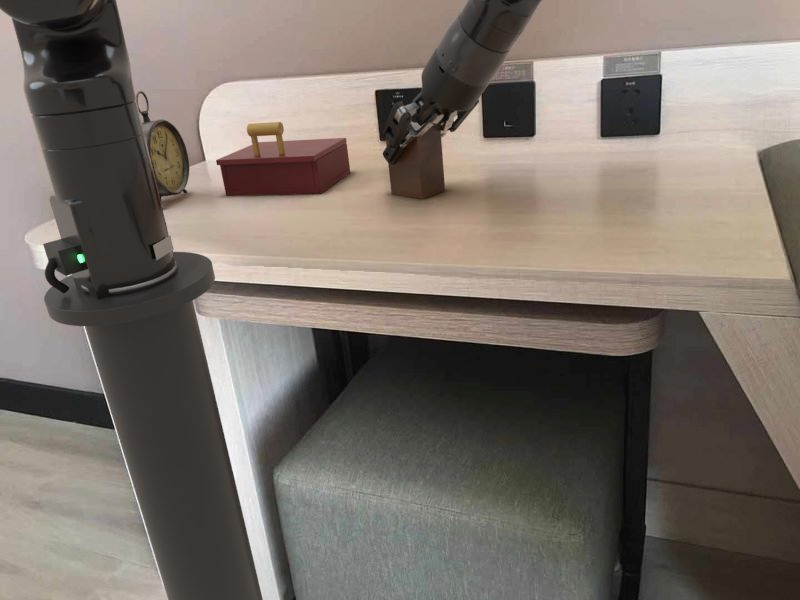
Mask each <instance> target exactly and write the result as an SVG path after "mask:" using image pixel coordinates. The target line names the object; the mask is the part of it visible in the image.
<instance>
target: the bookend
mask: <svg viewBox="0 0 800 600" xmlns="http://www.w3.org/2000/svg"><path fill="white" fill-rule="evenodd" d="M413 123H414V124H415V125H416V127H417V128H418V129H419V128H420V127H421V126H420V125H419V124H418V123H417V122H414V121H413ZM408 134H409V130H408V129H407V131H406V133H405V135H404V137H406V136H407V135H408ZM442 142H443V141H442V138H441V128H440V124H439V125H432V126H431V127H430V128H429V129H428V130H427V131H426V132H425V133H424V134H423V135H422V136H421V137H420V138H417V137H415V138H414V139H413V140H412V141H411V142H410V143H409V144H408V145H407V146H406V147H407V148H406V149H405V151H404V152H403V154H402V155H401V157H400V158H399V160H398V162H397V163H396V164H394V165H389V163H388V162H387V164H388V175H389V183H390V184H389V185H390V191H391V192H390V193H391V195H396V196H402V197H408V198H412V199H413V198H414V199H421V200H423V199H427V198H429V197H432V196H435V195H437V194H440V193H443V192H446V184H445V169H444V160H443V159H444V157H443V143H442ZM388 143H389V141H388V140H387V138H386V137H385V147H387V145H388Z"/></svg>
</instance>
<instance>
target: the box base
mask: <svg viewBox="0 0 800 600" xmlns="http://www.w3.org/2000/svg"><path fill="white" fill-rule="evenodd" d="M349 157H350V156H349V149H348V144H347V143H345V144H344V145H342V146H340V147H338V148H336V149H335V150H333V151H331V152H329V153H328V154H326V155H324V156H322V157H321V158H319V159H317V160H315V161H309V162H285V163H261V164H237V165H219V167H220V173H221V178H222V182H223V187H224V192H225V196H226V197H239V196H240V197H241V196H242V197H243V196H275V195H278V196H279V195H316V194H318V195H319V194H323V193H324V192H326V191H327V190H328V189H330V188H331V187H333V186H335V185H336V184H338V183H339V182H340V181H341V180H343V179H344V178H346V177H347V176H349V175H350V174H351V165H350V158H349Z"/></svg>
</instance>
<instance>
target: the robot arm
mask: <svg viewBox="0 0 800 600" xmlns="http://www.w3.org/2000/svg"><path fill="white" fill-rule="evenodd" d="M542 2H543V0H466V1H465V3H464V5H463V7H462V8H461V11H459V13H458V15H457V16H456V17H455V18H454V20H453V21H452V22H451V23H450V25H449V26H448V28H447V29H446V31H445V33H444V34H443V36H442V37H441V39H440V40H439V42H438V44H437V46H436V48H435V49H434V51H433V53H432V54H431V56H430V58H429V60H427V63H426V65H425V66H424V68H423V69H422V71H421V72H422V73H421V90H420V91H419V92H418V94H417V95H416V96H415V97H414V98H413V99H412V101H411V103H408V104H403V101H397V102H396V103H394V104H393V106H392V109H391V111H390V112H389V115H388V118H387V120H386V123H385V125H384V127H383V129H382V132H381V133H382V135H383V136H384V138H385V139H386V138H387V140H388V141H389V143H388V145H387V146H385V148H384V150H383V151H382V156H383V158H384V160H385V161H386V162H387V164H388V163H389V165H394V164H396V163H397V162H398V160H399V158H400V157H401V155H402V154H403V152H404V151H405V149H406V148H407V147H406V146H407V145H408V144H409V143H410V142H411V141H412V140H413V139H414V138H415V137H417V138H420V137H421V136H422V135H423V134H424V133H425V132H426V131H427V130H428V129H429V128H430V127H431V126H432V125H439V124H440V128H441V139H443V138H444V137H445V136H446V135H447V133H448V132H450V133H454V132H456V130H458V129H459V128H460V126H461V125H462V124H463V122H465V120H466V119H467V117H468V116H469V115H470V114H471V113H472V111H473V110H474V109H475V108H476V107H477V106H478V104H480V98H481V96H482V95H483V93H484V92H485V91H486V89H487V88H488V86H489V85H490V84H491V82H492V81H493V79H494V78H495V76H496V75H497V73H498V72H499V70H501V68H502V66H503V65H504V63H505V61H506V59H507V56H508V55H509V53H510V51H511V50H512V48H513V47H514V46H515V44H516V43H517V41H518V40H519V38H520V37H521V35H522V34H523V32H525V30H526V28H527V27H528V26H529V23H530V22H531V20H532V19H533V17H534V15H535V13H536V11H537V9H538V8H539V6H540V4H541V3H542ZM0 11H1V12H3V13H4V14H6V15H7V16H8V17H10V18H11V21H12V25H13V28H14V32H15V35H16V40H17V42H18V43H17V44H18V47H19V50H20V55H21V59H22V65H23V93H24V96H25V100H26V104H27V107H28V109H29V113H30V116H31V120H32V124H33V126H34V130H35V133H36V136H37V140H38V144H39V146H40V149H41V153H42V156H43V160H44V163H45V167H46V170H47V172H48V177H49V180H50V183H51V187H52V189H53V193H54V194H52V195H51V194H50V196H49V197H48V198H49V203H50V207H51V210H52V213H53V217H54V220H55V223H56V226H57V227H56V228H57V230H58V233H59V236H60V238H59V239H55V240H52V241H47V242H45V243H43V245H42V246H43V248H44V252H45V256H46V259H47V264H46V266H45V270H44V277H45V280H46V282H47V283H48V284H49V285H50V286H51V287H52V286H53V287H54V288H56V289H57V290H59V291H61V292H62V293H66V292H67V291H68V290H69V287H68V286H67V285H65V284H64V283H62V282H61V280H59V279H58V278H57V276H56V273H55V272H58V273H60V274H62V275H63V276H66V277H68V276H70V275H72V276H73V279H74V283H75V286H76V288H78V289H80V290H82V291H83V292H85V293H86V294H89V295H91V296H92V297H94V298H96V299H102V298H105V297H109V296H114V295H121V294H127V293H132V292H137V291H140V290H144V289H147V288H150V287H153V286H156V285H158V284H161V283H163V282H165V281H167V280H168V279H170V278H171V277H173V276H174V275H175V274H176V273H177V271H178V268H177V263H176V261H175V259H174V253H173V252H174V244H173V241H172V237H171V235H169V232H168V227H167V221H166V219H165V215H164V210H163V206H162V200H161V201H160V197H159V193H158V189H157V184H156V180H155V176H154V172H153V168H152V164H151V160H150V155H149V151H148V147H147V143H146V139H145V135H144V130H143V126H142V122H143V121H142V117H141V113H140V112H139V109H140V108H139V109H138V106H139V104H138V105H137V101H136V93H135V88H134V82H133V77H132V68H131V61H130V56H129V51H128V48H127V43H126V39H125V35H124V29H123V25H122V20H121V17H120V11H119V8H118V3H117V0H0ZM413 119H414V121H415V122H414V121H413ZM454 119H455V120H454ZM413 122H414V123H418V124H419V125H420V126H421V127H420V128H419V129H418V128H417V127H416V125H415V124H414V123H413ZM407 129H408V130H409V134H408V135H407V136H406V137H404V135H405V133H406V131H407Z"/></svg>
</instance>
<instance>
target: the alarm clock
mask: <svg viewBox="0 0 800 600" xmlns="http://www.w3.org/2000/svg"><path fill="white" fill-rule="evenodd" d="M140 94H141V95H142V96H143V97H144V100H145V103H146V109H145V110H142V111H141V109H140V107H139V95H140ZM135 96H136V101H137V105H138V109H139V113H140V116H142V118H143V119H142V120H143V121H141V122H142V126H143V130H144V135H145V139H146V143H147V147H148V151H149V155H150V160H151V164H152V168H153V172H154V176H155V180H156V184H157V189H158V193H159V197H160V201H161V202H162V197H170V196H177V195H180V194H181V193H183V194H187V193H188V190H187V189H186V187H187V184H188V183H189V182H188V181H189V176H190V161H189V154H188V151H187V146H186V144H185V141H184V139H183V137H182V135H181V134H180V132H179V129H177V128H176V126H175V125H174V124H172V123H171V122H170V121H169V120H166V119H162V118H161V119H157V120H151V119H150V117H149V110H150V106H149V105H150V104H149V100H148V97H147V95H146V93H145V92H143V91H142V90H139V91H137V93H135Z"/></svg>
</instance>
